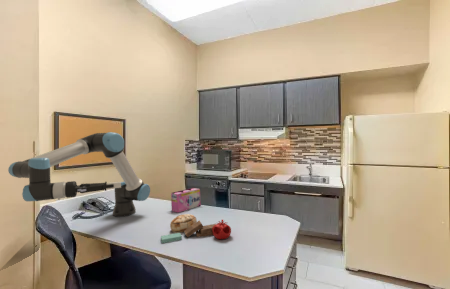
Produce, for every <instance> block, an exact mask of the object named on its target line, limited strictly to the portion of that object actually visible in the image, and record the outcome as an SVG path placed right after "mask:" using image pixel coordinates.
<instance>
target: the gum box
mask: <svg viewBox="0 0 450 289" xmlns="http://www.w3.org/2000/svg"><path fill="white" fill-rule="evenodd" d="M170 196H171V197H170V201H171V202H170V203H171V206H170V207H171V211H172V212H174V213H177V214H179V213H182V212H184V211H188V210H191V209H194V208H197V207H200V206H201V205H202V204H201V202H202V201H201V188H197V187H190V188H186V189H181V190H178V191H174V192H171V193H170ZM199 205H200V206H199Z"/></svg>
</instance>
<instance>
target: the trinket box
mask: <svg viewBox="0 0 450 289" xmlns="http://www.w3.org/2000/svg"><path fill="white" fill-rule="evenodd" d="M196 222H198V220H197V217H196V216H195V215H193V214H191V213H184V214H180V215H179V214H178V215H177V216H176V217H175V218H173V219H172V220H171V221H170V223H169V225H170V226H169V227H170V231H171V232H172V233H173V234H175V233H180V234H182V233H185V232H184V231H185V230H186V229H187V228H189V227H190V226H192V225H193V224H195V223H196Z"/></svg>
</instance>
